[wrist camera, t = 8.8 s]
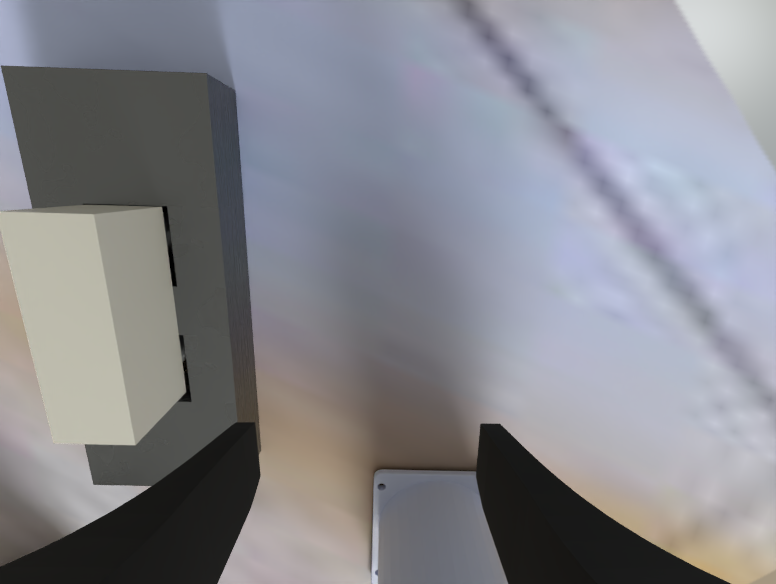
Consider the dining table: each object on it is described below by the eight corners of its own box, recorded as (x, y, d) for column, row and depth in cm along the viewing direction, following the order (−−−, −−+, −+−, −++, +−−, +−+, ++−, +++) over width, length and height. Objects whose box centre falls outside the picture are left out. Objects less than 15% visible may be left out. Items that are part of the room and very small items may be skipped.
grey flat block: (260, 450, 23) (243, 487, 21) (129, 447, 23) (93, 484, 20) (235, 90, 18) (206, 73, 15) (63, 84, 18) (0, 65, 15)
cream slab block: (212, 364, 22) (135, 445, 15) (156, 363, 22) (53, 443, 15) (195, 203, 19) (94, 214, 13) (131, 201, 19) (-5, 211, 13)
